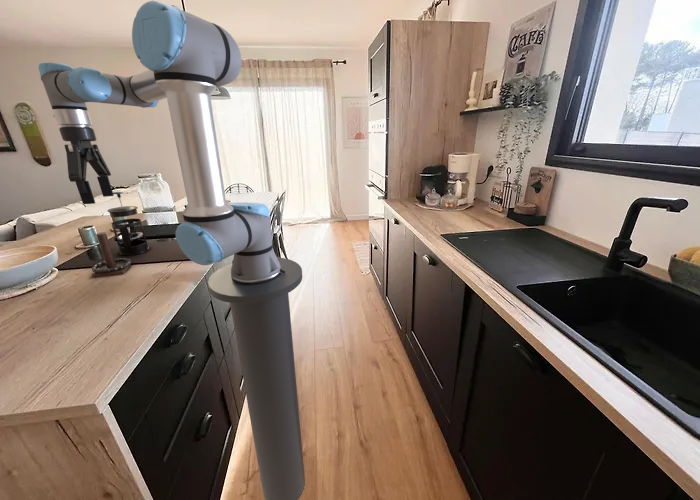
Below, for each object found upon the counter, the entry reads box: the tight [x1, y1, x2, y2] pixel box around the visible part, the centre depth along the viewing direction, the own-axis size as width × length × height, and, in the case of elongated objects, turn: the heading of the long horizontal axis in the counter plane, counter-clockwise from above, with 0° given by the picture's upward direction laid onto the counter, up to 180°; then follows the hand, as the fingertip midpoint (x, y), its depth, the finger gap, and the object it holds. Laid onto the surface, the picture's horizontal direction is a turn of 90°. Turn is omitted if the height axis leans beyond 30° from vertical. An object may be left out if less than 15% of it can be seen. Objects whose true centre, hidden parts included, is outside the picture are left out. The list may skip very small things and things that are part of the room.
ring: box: [91, 257, 133, 273], centre depth 95 cm, size 10×10×1 cm
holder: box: [91, 231, 132, 278], centre depth 93 cm, size 8×8×13 cm
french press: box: [106, 191, 150, 257], centre depth 107 cm, size 12×9×23 cm
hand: (99, 199), depth 90 cm, fingers open, 13 cm apart
